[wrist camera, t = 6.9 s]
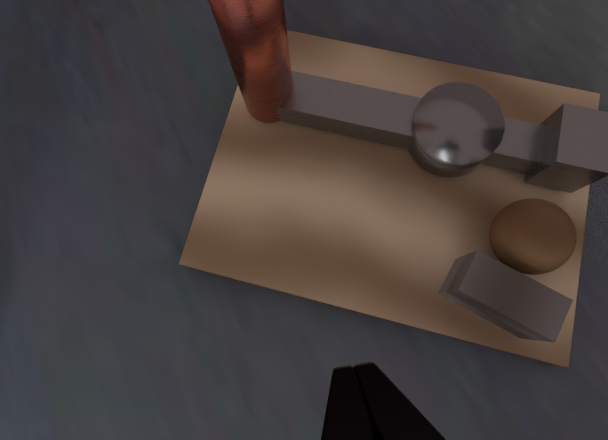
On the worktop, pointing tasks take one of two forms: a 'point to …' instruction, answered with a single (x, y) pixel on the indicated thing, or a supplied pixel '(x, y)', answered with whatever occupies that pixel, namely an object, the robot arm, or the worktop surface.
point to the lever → (408, 111)
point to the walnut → (533, 236)
